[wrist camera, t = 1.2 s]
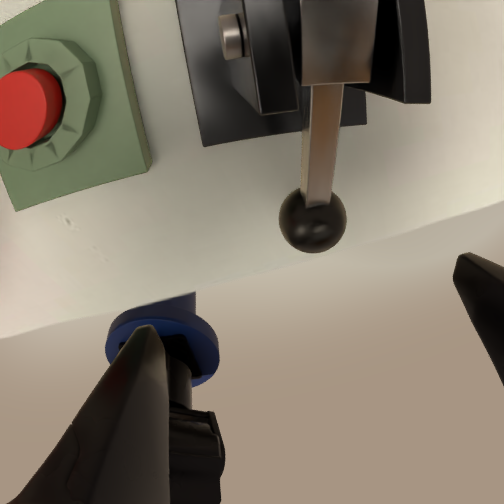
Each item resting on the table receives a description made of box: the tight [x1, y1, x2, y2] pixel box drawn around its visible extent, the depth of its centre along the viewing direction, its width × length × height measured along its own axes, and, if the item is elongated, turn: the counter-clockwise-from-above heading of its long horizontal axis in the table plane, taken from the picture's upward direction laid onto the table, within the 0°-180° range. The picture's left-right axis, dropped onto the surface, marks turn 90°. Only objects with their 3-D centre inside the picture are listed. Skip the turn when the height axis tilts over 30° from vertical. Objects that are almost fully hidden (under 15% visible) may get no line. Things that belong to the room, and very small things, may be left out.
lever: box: [279, 0, 379, 253], centre depth 11 cm, size 12×3×3 cm, turn 8°
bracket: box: [175, 0, 431, 147], centre depth 10 cm, size 10×9×10 cm
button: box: [0, 68, 62, 150], centre depth 11 cm, size 4×4×2 cm
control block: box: [0, 0, 152, 212], centre depth 12 cm, size 11×9×4 cm
